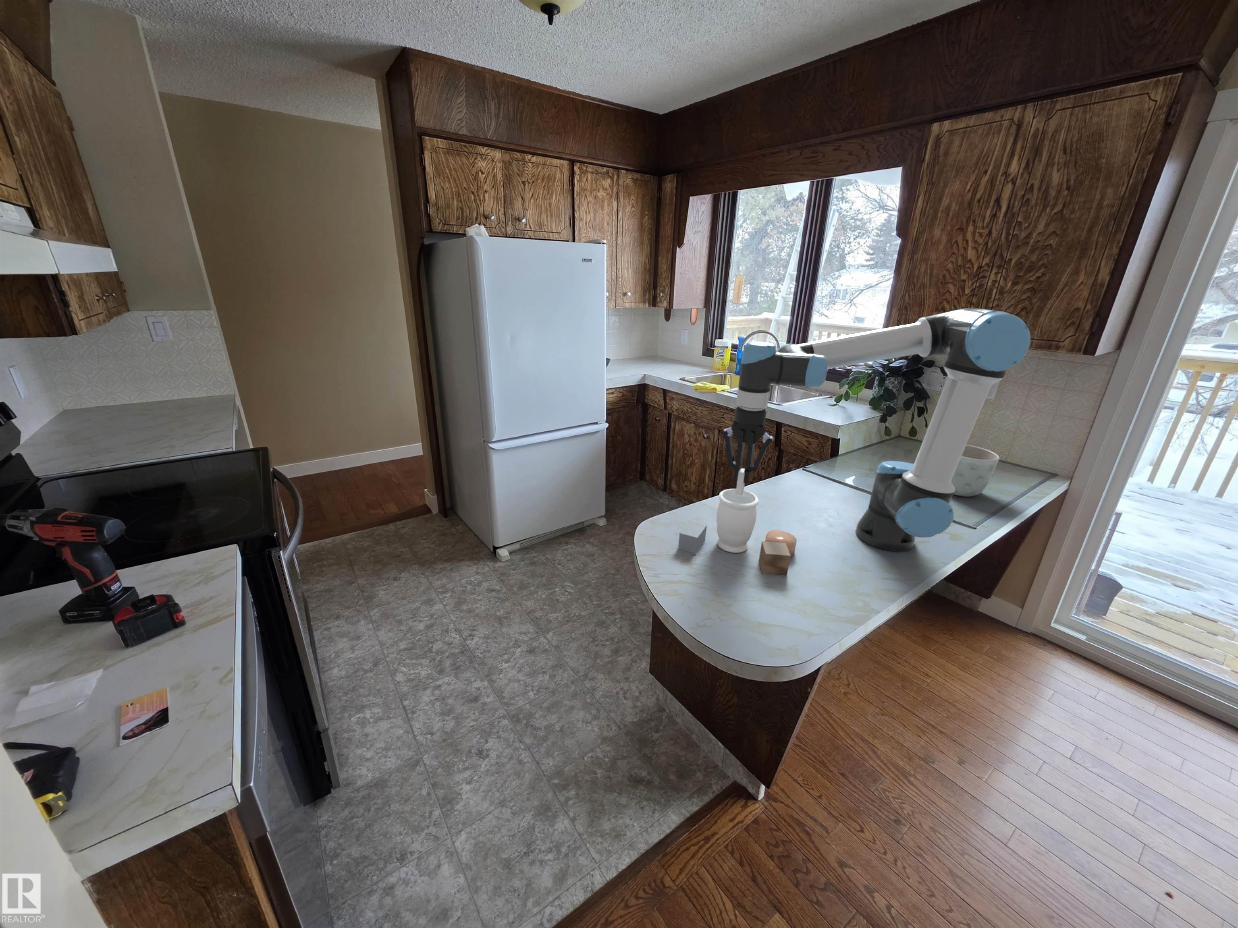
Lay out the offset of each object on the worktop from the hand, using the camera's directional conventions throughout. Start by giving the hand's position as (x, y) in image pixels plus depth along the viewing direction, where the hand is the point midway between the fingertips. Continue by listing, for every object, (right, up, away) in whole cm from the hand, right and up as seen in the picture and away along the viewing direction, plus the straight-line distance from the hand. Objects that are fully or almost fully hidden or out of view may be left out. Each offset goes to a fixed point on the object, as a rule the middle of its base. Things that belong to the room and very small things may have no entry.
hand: (739, 493), depth 132 cm
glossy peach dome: (+12, -16, +5) cm, 20 cm away
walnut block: (+7, -19, -4) cm, 21 cm away
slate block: (-12, -15, +6) cm, 20 cm away
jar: (-1, -15, +6) cm, 16 cm away
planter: (+89, -2, +46) cm, 100 cm away
